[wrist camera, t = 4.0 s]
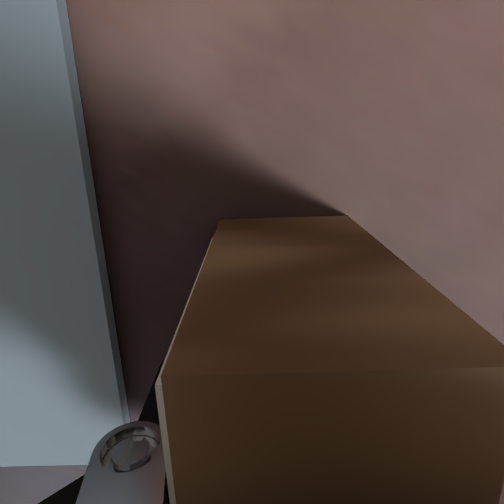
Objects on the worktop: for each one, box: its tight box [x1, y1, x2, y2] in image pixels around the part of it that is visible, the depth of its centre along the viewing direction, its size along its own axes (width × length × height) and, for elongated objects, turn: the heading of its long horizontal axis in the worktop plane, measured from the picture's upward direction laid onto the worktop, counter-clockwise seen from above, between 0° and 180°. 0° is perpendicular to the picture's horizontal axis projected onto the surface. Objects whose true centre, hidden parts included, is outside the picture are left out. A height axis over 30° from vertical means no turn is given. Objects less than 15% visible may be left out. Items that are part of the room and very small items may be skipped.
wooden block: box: [155, 215, 504, 504], centre depth 8 cm, size 4×8×7 cm, turn 2°
